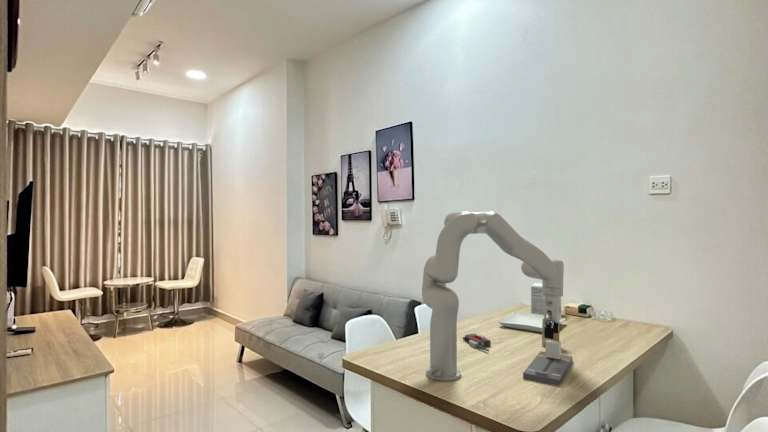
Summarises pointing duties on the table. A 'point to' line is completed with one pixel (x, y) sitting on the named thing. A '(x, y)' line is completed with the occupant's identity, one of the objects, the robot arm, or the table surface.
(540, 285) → the supplement box
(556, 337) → the skincare box
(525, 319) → the square plate
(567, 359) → the slider console
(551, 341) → the fader knob
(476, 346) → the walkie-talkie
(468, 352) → the table surface
